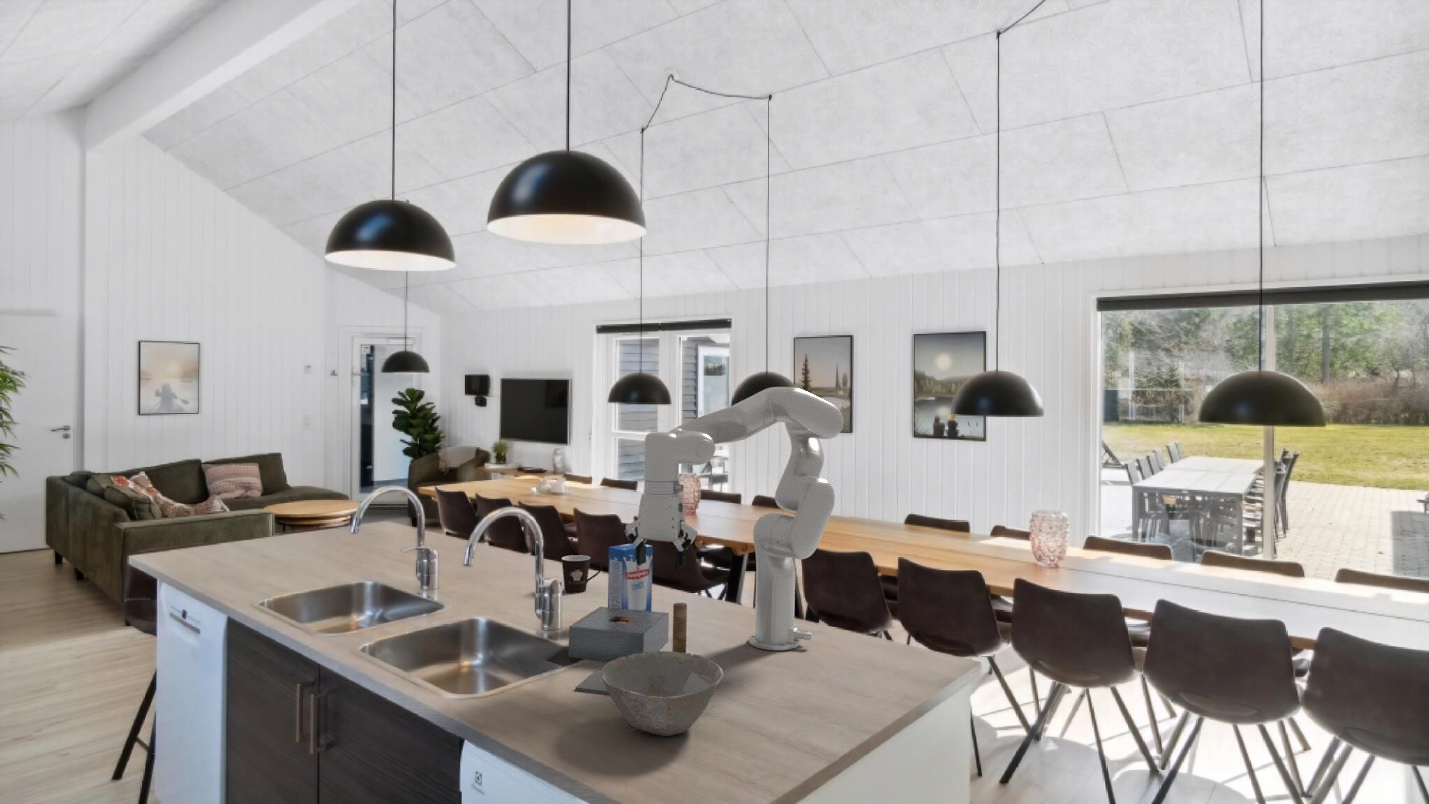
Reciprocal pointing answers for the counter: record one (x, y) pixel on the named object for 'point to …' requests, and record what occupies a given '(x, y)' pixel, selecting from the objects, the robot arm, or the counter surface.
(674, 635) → the dowel
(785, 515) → the robot arm
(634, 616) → the box
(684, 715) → the ceramic bowl
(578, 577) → the coffee mug
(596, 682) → the mat
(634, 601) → the milk carton
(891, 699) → the counter surface
